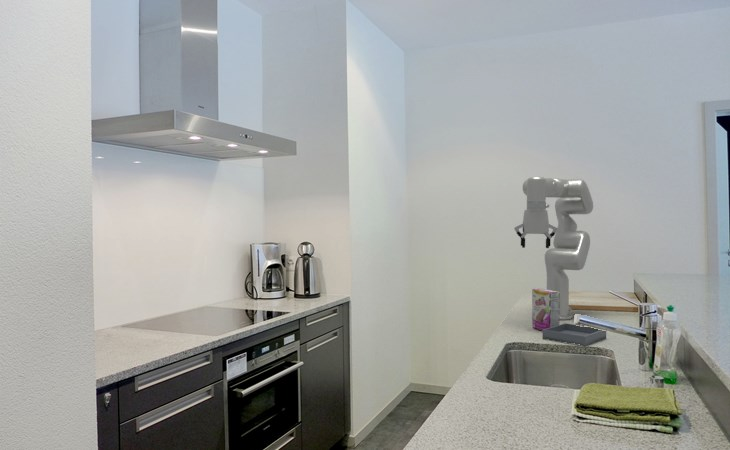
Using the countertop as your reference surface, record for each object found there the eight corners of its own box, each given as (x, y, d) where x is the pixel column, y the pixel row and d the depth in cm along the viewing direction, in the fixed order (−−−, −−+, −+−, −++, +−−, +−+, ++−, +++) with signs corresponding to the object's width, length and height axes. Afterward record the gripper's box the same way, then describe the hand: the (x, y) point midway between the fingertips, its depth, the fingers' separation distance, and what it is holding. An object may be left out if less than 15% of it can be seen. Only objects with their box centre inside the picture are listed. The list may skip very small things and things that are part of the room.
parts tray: (564, 331, 220) (564, 323, 220) (606, 338, 208) (606, 329, 208) (542, 338, 208) (542, 329, 208) (585, 346, 196) (585, 336, 196)
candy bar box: (531, 328, 227) (531, 288, 227) (541, 327, 229) (541, 288, 229) (549, 333, 217) (550, 292, 217) (560, 332, 219) (560, 291, 218)
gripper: (555, 207, 232) (554, 248, 232) (513, 206, 234) (512, 247, 234) (559, 206, 224) (558, 248, 224) (516, 206, 226) (515, 247, 226)
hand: (535, 247), depth 229 cm, fingers open, 9 cm apart
